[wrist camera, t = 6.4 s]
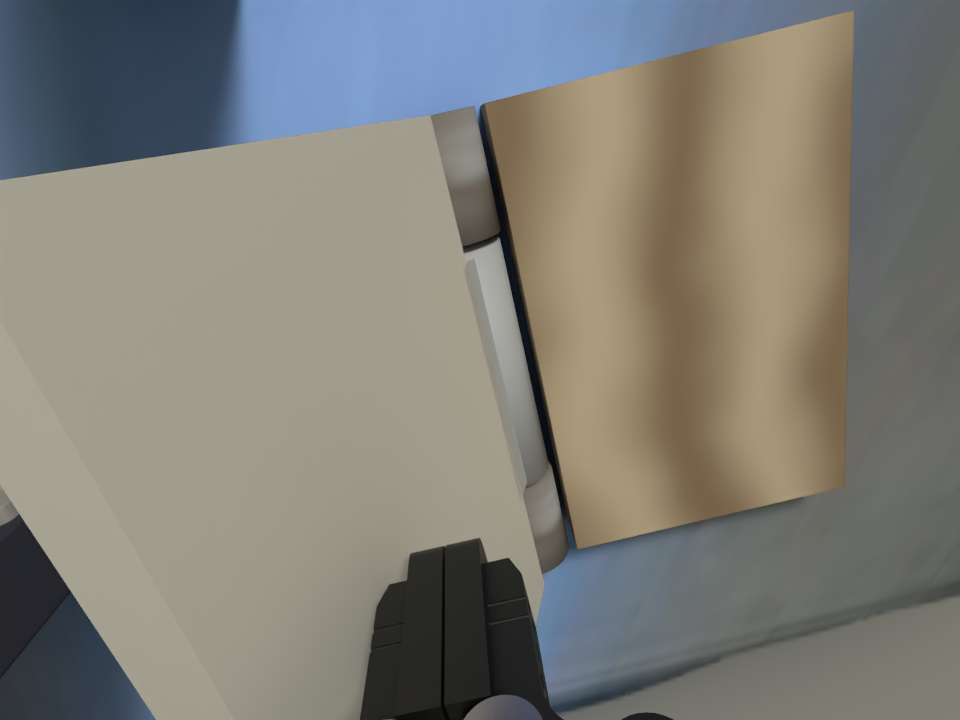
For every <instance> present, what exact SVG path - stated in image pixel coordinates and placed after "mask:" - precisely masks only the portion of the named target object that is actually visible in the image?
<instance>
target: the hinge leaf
mask: <svg viewBox="0 0 960 720" xmlns="http://www.w3.org/2000/svg"><path fill="white" fill-rule="evenodd" d="M548 466H549V464H548V459H547V454H546V449H545V445H544V440H543V435H542V431H541V426H540V422H539V417H538V412H537V408H536V403H535V398H534V394H533V389H532V385H531V380H530V375H529V371H528V366H527V362H526V357H525V352H524V348H523V343H522V338H521V334H520V329H519V325H518V320H517V315H516V311H515V306H514V301H513V297H512V292H511V288H510V283H509V278H508V274H507V269H506V265H505V260H504V255H503V251H502V246H501V241H500V238H499V237H497V236H492V237H490V238H488V239H485V240H482V241H480V242H477V243H473V244H470V245H467V246H463V247H462V244H461V239H460V235H459V231H458V227H457V223H456V219H455V215H454V211H453V207H452V202H451V198H450V194H449V190H448V186H447V182H446V178H445V174H444V170H443V165H442V161H441V157H440V153H439V149H438V145H437V141H436V137H435V133H434V128H433V124H432V120H431V116H430V115H428V116H421V117H415V118H408V119H402V120H395V121H388V122H382V123H375V124H369V125H362V126H355V127H349V128H342V129H336V130H329V131H323V132H316V133H309V134H303V135H296V136H290V137H283V138H276V139H270V140H263V141H257V142H250V143H243V144H237V145H230V146H224V147H217V148H211V149H204V150H197V151H191V152H184V153H178V154H171V155H164V156H158V157H151V158H145V159H138V160H131V161H125V162H118V163H112V164H105V165H99V166H92V167H85V168H79V169H72V170H66V171H59V172H52V173H46V174H39V175H33V176H26V177H19V178H13V179H6V180H0V485H1V487H2V488H3V490H4V491H5V493H6V494H7V496H8V497H9V499H10V500H11V502H12V503H13V505H14V506H15V508H16V509H17V511H18V512H19V514H20V516H21V517H22V519H23V520H24V522H25V523H26V525H27V526H28V528H29V529H30V531H31V532H32V534H33V535H34V537H35V538H36V540H37V541H38V543H39V544H40V546H41V547H42V549H43V550H44V552H45V553H46V555H47V556H48V558H49V559H50V561H51V562H52V564H53V565H54V567H55V568H56V570H57V571H58V573H59V574H60V576H61V577H62V579H63V580H64V582H65V583H66V585H67V586H68V588H69V589H70V591H71V592H72V594H73V595H74V597H75V598H76V600H77V601H78V603H79V604H80V606H81V607H82V609H83V610H84V612H85V613H86V615H87V616H88V618H89V619H90V621H91V622H92V624H93V625H94V627H95V628H96V630H97V631H98V633H99V634H100V636H101V637H102V639H103V640H104V642H105V643H106V645H107V646H108V648H109V649H110V651H111V652H112V654H113V655H114V657H115V658H116V660H117V661H118V663H119V664H120V666H121V668H122V669H123V671H124V672H125V674H126V675H127V677H128V678H129V680H130V681H131V683H132V684H133V686H134V687H135V689H136V690H137V692H138V693H139V695H140V696H141V698H142V699H143V701H144V702H145V704H146V705H147V707H148V708H149V710H150V711H151V713H152V714H153V716H154V717H155V719H156V720H360V715H361V708H362V701H363V695H364V688H365V681H366V675H367V668H368V661H369V655H370V653H371V641H372V635H373V633H374V630H373V628H374V621H375V615H376V608H377V605H378V603H379V601H380V600H381V598H382V596H383V595H384V593H385V591H386V589H387V588H388V586H389V584H393V583H398V582H402V581H407V574H408V563H409V556H410V554H411V553H414V552H418V551H423V550H427V549H432V548H436V547H441V546H445V547H446V545H449V544H453V543H458V542H462V541H467V540H471V539H476V538H480V539H481V541H482V544H483V547H484V551H485V554H486V558H487V561H488V562H492V561H496V560H501V559H505V558H509V559H510V560H511V561H512V562H513V564H514V565H515V566H516V567H517V569H518V570H519V571H520V572H521V574H522V577H523V580H524V584H525V588H526V592H527V596H528V599H529V603H530V607H531V611H532V615H533V619H534V622H535V626H536V622H537V617H538V613H539V608H540V604H541V599H542V595H543V590H544V586H545V585H544V581H543V577H542V572H541V568H540V564H539V560H538V556H537V552H536V548H535V544H534V540H533V535H532V531H531V527H530V523H529V519H528V515H527V511H526V507H525V503H524V498H523V493H524V490H525V487H527V486H529V485H531V484H533V483H535V482H537V481H538V480H539V479H541V478H542V477H543V476H544V475H545V473H546V472H547V470H548Z"/></svg>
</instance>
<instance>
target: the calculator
mask: <svg viewBox="0 0 960 720" xmlns="http://www.w3.org/2000/svg"><path fill="white" fill-rule="evenodd" d="M70 592H71V591H70V589H69V588H68V586H67V585H66V583H65V582H64V580H63V579H62V577H61V576H60V574H59V573H58V571H57V570H56V568H55V567H54V565H53V564H52V562H51V561H50V559H49V558H48V556H47V555H46V553H45V552H44V550H43V549H42V547H41V546H40V544H39V543H38V541H37V540H36V538H35V537H34V535H33V534H32V532H31V531H30V529H29V528H28V526H27V525H26V523H25V522H24V520H23V519H22V517H21V516H20V514H19V512H18V511H17V509H16V508H15V506H14V505H13V503H12V502H11V500H10V499H9V497H8V496H7V494H6V493H5V491H4V490H3V488H2V487H1V485H0V679H1V677H2V676H3V675H4V674H5V672H6V671H7V670H8V669H9V667H10V666H11V665H12V664H13V663H14V661H15V660H16V659H17V658H18V656H19V655H20V654H21V653H22V651H23V650H24V649H25V648H26V646H27V645H28V644H29V643H30V641H31V640H32V639H33V638H34V636H35V635H36V634H37V633H38V631H39V630H40V629H41V628H42V626H43V625H44V624H45V623H46V621H47V620H48V619H49V618H50V617H51V615H52V614H53V613H54V612H55V610H56V609H57V608H58V607H59V605H60V604H61V603H62V602H63V600H64V599H65V598H66V597H67V595H68V594H69V593H70Z"/></svg>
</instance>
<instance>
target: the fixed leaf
mask: <svg viewBox="0 0 960 720" xmlns="http://www.w3.org/2000/svg"><path fill="white" fill-rule="evenodd" d="M853 32H854V11H850V12H846V13H842V14H838V15H834V16H830V17H826V18H822V19H818V20H814V21H810V22H806V23H802V24H798V25H794V26H790V27H786V28H782V29H778V30H774V31H770V32H766V33H762V34H758V35H754V36H750V37H747V38H743V39H739V40H735V41H731V42H727V43H723V44H719V45H715V46H711V47H707V48H703V49H699V50H695V51H691V52H687V53H683V54H679V55H675V56H671V57H667V58H663V59H659V60H655V61H651V62H647V63H643V64H639V65H635V66H631V67H627V68H623V69H619V70H615V71H611V72H607V73H603V74H599V75H595V76H591V77H587V78H583V79H579V80H575V81H571V82H567V83H563V84H559V85H555V86H551V87H548V88H544V89H540V90H536V91H532V92H528V93H524V94H520V95H516V96H512V97H508V98H504V99H500V100H496V101H492V102H488V103H484V104H483V105H482V106H480V108H481V113H482V118H483V122H484V127H485V132H486V136H487V141H488V146H489V151H490V155H491V160H492V165H493V170H494V174H495V179H496V184H497V189H498V193H499V198H500V203H501V208H502V212H503V217H504V222H505V227H506V231H507V236H508V241H509V245H510V250H511V255H512V260H513V264H514V269H515V274H516V279H517V283H518V288H519V293H520V298H521V302H522V307H523V312H524V317H525V321H526V326H527V331H528V335H529V340H530V345H531V350H532V354H533V359H534V364H535V369H536V373H537V378H538V383H539V388H540V392H541V397H542V402H543V407H544V411H545V416H546V421H547V426H548V430H549V435H550V440H551V444H552V449H553V454H554V459H555V463H556V468H557V473H558V478H559V482H560V487H561V492H562V497H563V501H564V506H565V511H566V516H567V520H568V523H569V526H570V529H571V532H572V535H573V537H574V540H575V543H576V546H577V549H582V548H586V547H590V546H594V545H599V544H603V543H607V542H612V541H616V540H620V539H624V538H629V537H633V536H637V535H641V534H646V533H650V532H654V531H659V530H663V529H667V528H671V527H676V526H680V525H684V524H688V523H693V522H697V521H701V520H706V519H710V518H714V517H718V516H723V515H727V514H731V513H735V512H740V511H744V510H748V509H753V508H757V507H761V506H765V505H770V504H774V503H778V502H782V501H787V500H791V499H795V498H800V497H804V496H808V495H812V494H817V493H821V492H825V491H829V490H834V489H838V488H842V487H845V442H846V391H847V340H848V288H849V237H850V186H851V135H852V83H853ZM431 120H432V124H433V128H434V133H435V137H436V141H437V145H438V149H439V153H440V157H441V161H442V165H443V170H444V174H445V178H446V182H447V186H448V190H449V194H450V198H451V202H452V207H453V211H454V215H455V219H456V223H457V227H458V231H459V235H460V239H461V244H462V247H463V246H467V245H470V244H473V243H477V242H480V241H482V240H485V239H488V238H490V237H492V236H494V235H496V234H498V233H499V232H500V231H501V228H500V223H499V219H498V214H497V209H496V205H495V200H494V195H493V191H492V186H491V182H490V177H489V172H488V168H487V163H486V158H485V154H484V149H483V144H482V140H481V135H480V130H479V126H478V121H477V116H476V112H475V107H474V106H472V107H467V108H462V109H457V110H453V111H449V112H444V113H440V114H436V115H432V116H431ZM548 464H549V466H548V470H547V472H546V473H545V475H544V476H543V477H542V478H541V479H539V480H538V481H537V482H535V483H533V484H531V485H529V486H527V487H525V490H524V493H523V498H524V503H525V507H526V511H527V515H528V519H529V523H530V527H531V531H532V535H533V540H534V544H535V548H536V552H537V556H538V560H539V564H540V568H541V572H542V573H545V572H548V571H550V570H552V569H554V568H555V567H557V566H558V565H559V564H561V562H562V561H563V560H564V559H565V557H566V555H567V553H568V548H569V546H568V540H567V536H566V531H565V526H564V522H563V517H562V512H561V508H560V503H559V498H558V494H557V489H556V484H555V480H554V475H553V470H552V466H551V464H550V463H549V462H548Z"/></svg>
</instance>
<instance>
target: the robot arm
mask: <svg viewBox="0 0 960 720" xmlns="http://www.w3.org/2000/svg"><path fill="white" fill-rule="evenodd" d="M373 630H374V633H373V635H372V641H371V653H370V655H369V661H368V668H367V675H366V681H365V688H364V695H363V701H362V708H361V715H360V720H563V719H562V718H560V717H559V716H558V715H557V714H556V713H555V712H554V711H553V710H552V709H551V708H550V704H549V698H548V693H547V687H546V682H545V676H544V671H543V665H542V659H541V654H540V648H539V642H538V637H537V631H536V626H535V622H534V619H533V615H532V611H531V607H530V603H529V599H528V596H527V592H526V588H525V584H524V580H523V577H522V574H521V572H520V571H519V570H518V569H517V567H516V566H515V565H514V564H513V562H512V561H511V560H510V559H509V558H505V559H501V560H496V561H492V562H488V561H487V558H486V554H485V551H484V547H483V544H482V541H481V539H480V538H476V539H471V540H467V541H462V542H458V543H453V544H449V545H446V547H445V546H441V547H436V548H432V549H427V550H423V551H418V552H414V553H411V554H410V556H409V563H408V574H407V581H402V582H398V583H393V584H389V586H388V588H387V589H386V591H385V593H384V595H383V596H382V598H381V600H380V601H379V603H378V605H377V608H376V615H375V621H374V628H373ZM622 720H673V719H671V718H669V717H666V716H664V715H660V714H656V713H637V714H633V715H630V716H628V717H626V718H623V719H622Z"/></svg>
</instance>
